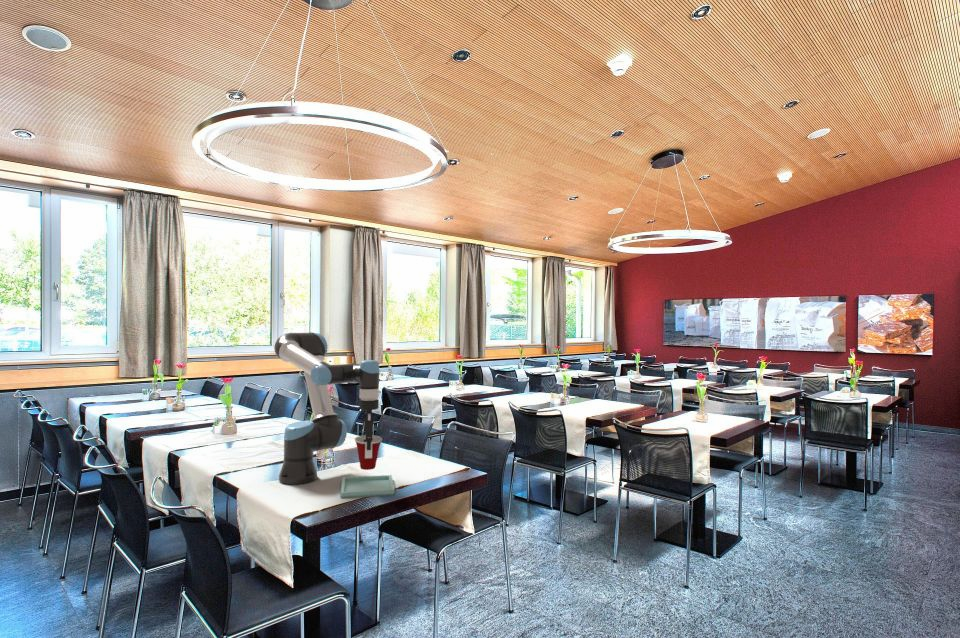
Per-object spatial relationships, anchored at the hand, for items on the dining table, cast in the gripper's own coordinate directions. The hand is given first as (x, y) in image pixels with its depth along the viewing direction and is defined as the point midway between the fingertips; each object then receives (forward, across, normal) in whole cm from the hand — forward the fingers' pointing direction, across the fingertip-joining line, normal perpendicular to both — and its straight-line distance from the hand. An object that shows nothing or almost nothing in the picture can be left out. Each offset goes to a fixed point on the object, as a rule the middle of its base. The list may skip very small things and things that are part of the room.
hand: (368, 454), depth 210 cm
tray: (+14, 0, 0) cm, 14 cm away
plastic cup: (+6, 0, 0) cm, 6 cm away
